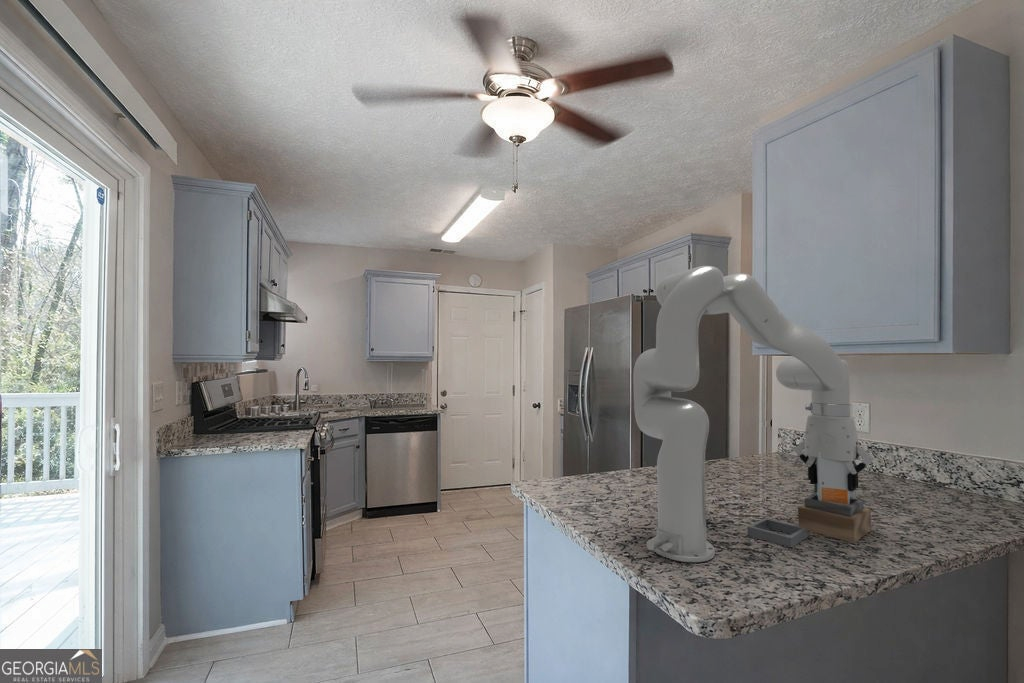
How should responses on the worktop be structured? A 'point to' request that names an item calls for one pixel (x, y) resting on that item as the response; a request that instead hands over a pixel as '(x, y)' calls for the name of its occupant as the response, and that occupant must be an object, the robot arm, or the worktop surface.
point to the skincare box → (832, 481)
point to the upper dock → (835, 518)
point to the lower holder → (789, 541)
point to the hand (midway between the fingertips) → (832, 486)
